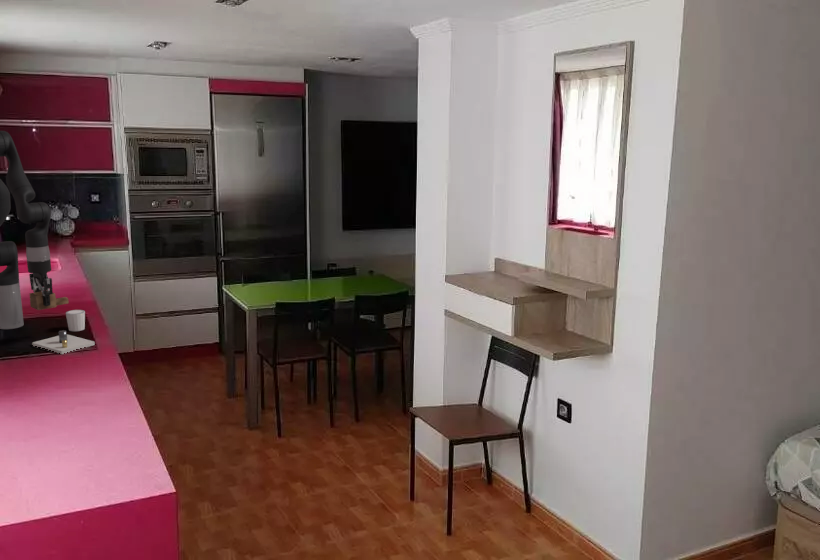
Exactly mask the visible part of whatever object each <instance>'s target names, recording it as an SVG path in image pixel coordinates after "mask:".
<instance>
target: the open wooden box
mask: <svg viewBox="0 0 820 560" xmlns="http://www.w3.org/2000/svg"><path fill="white" fill-rule="evenodd" d="M29 303H30V308H32V309H35V310H36V311H41V310H48V309H53V308H57V306H62V305H67V304H69V303H70V302H69V298H68V297H66V296H63V297H56V293H55V292H53V294H51V295H50V306H44V305H43V295H42V292H35V293H34V292H30V293H29Z"/></svg>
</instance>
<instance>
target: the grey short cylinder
mask: <svg viewBox="0 0 820 560" xmlns="http://www.w3.org/2000/svg"><path fill="white" fill-rule="evenodd" d="M65 317H66V323H67V328H68V331H69V332H80V331H84V330H85V329H86V328H85V327H86V324H85V322H86V311H85V310H83V309H72V310H68V311H66V312H65Z"/></svg>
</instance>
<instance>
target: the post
mask: <svg viewBox="0 0 820 560" xmlns="http://www.w3.org/2000/svg"><path fill="white" fill-rule="evenodd" d="M58 336H59V342H60V343H62V340H67V330H64V329H63V330H59V331H58Z"/></svg>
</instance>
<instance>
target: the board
mask: <svg viewBox="0 0 820 560" xmlns="http://www.w3.org/2000/svg"><path fill="white" fill-rule="evenodd" d="M95 344H96V343H95V341H94V340H90V339H85V338H82V337H77V336H75V335H72V334H67V348H62V343H60V342H59V335H56V336H52V337H49V338H45V339H41V340H36V341H33V342H32V343H31V345H33V346H32V347H35V346H37V347H36V348H38V347H41V348H40V349H42V348H45V349H48V350H47V351H49V350H51V351H50V352H52V351H54V352H53V353H55V352H57V353H56V354H59V353H60V355H64V353H65V354H67V352H68V353H71V352H70V351H72V352H74V351H73V350H75V351H77V350H76V349H79V350H81V349H80V348H82V349H85V348H84V347H86V348H89V347H92V346H95ZM45 349H44V350H45Z"/></svg>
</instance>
